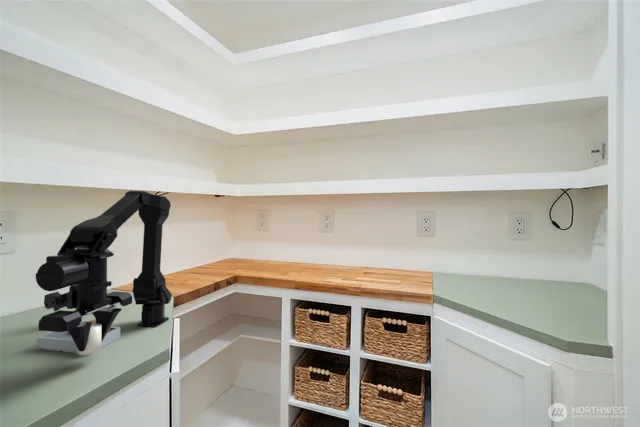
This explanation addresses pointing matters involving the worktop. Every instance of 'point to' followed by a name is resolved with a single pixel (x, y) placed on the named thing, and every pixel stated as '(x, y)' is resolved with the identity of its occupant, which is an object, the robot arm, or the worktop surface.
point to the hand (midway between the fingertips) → (91, 346)
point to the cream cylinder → (93, 340)
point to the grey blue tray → (71, 341)
